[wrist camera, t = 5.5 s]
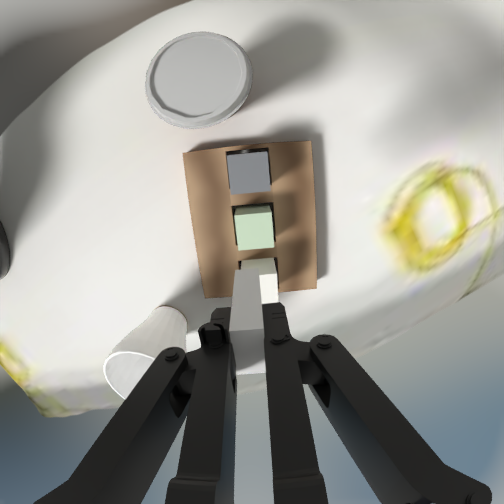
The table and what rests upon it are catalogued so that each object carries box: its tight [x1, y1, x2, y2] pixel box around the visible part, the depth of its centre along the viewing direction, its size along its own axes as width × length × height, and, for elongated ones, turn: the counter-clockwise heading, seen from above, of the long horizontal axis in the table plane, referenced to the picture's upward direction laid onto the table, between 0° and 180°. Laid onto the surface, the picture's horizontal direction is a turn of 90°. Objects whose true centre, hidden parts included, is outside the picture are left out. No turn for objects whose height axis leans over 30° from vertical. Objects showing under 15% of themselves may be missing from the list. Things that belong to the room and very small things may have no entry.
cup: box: [104, 306, 187, 399], centre depth 35 cm, size 10×10×14 cm
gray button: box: [227, 152, 271, 195], centre depth 29 cm, size 4×4×5 cm
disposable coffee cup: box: [145, 32, 253, 129], centre depth 25 cm, size 10×10×12 cm
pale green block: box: [234, 204, 274, 251], centre depth 33 cm, size 4×4×5 cm
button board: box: [183, 141, 317, 298], centre depth 35 cm, size 15×19×2 cm
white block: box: [241, 258, 279, 304], centre depth 34 cm, size 4×4×5 cm
